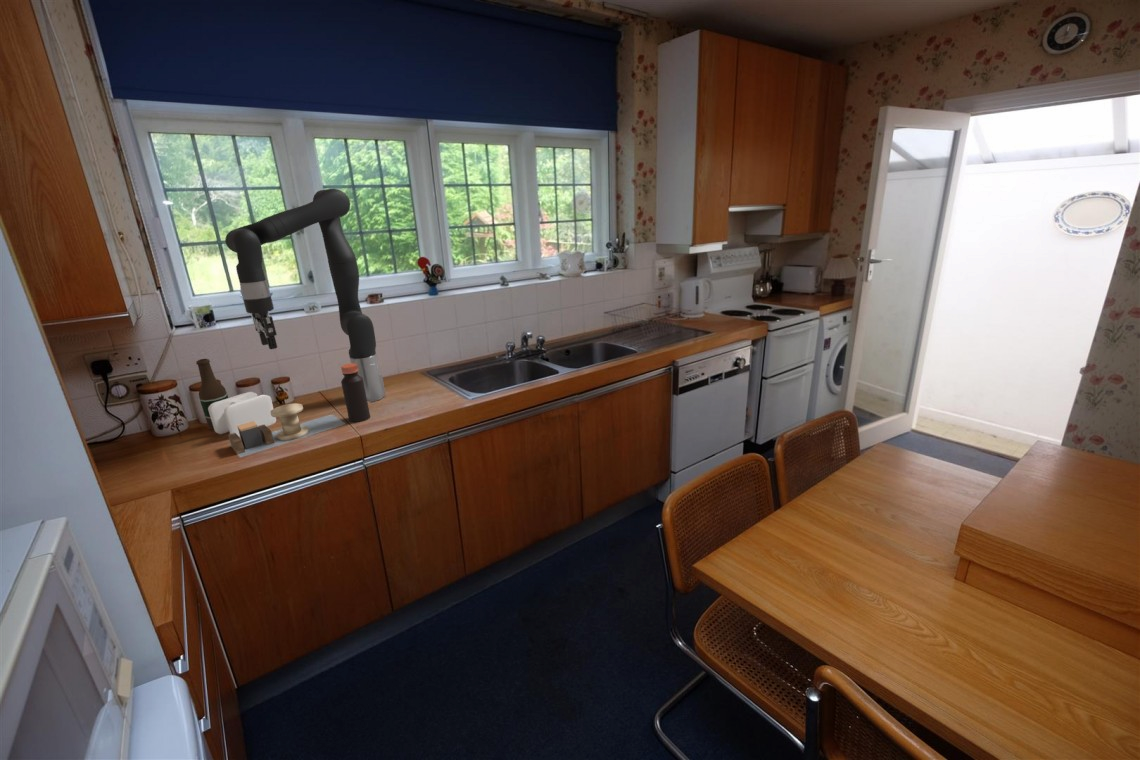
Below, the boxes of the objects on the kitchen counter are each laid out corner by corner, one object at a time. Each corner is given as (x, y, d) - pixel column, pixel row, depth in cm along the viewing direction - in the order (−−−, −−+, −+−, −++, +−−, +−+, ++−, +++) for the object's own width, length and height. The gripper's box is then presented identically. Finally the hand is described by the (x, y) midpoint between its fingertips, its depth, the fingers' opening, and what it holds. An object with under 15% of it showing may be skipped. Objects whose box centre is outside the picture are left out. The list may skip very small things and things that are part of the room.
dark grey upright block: (259, 440, 157) (253, 421, 154) (262, 444, 153) (257, 424, 151) (242, 445, 154) (237, 425, 152) (246, 449, 151) (240, 429, 148)
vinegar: (371, 415, 174) (361, 361, 167) (370, 423, 168) (358, 367, 161) (351, 419, 172) (339, 364, 166) (348, 426, 166) (336, 369, 159)
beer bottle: (220, 421, 176) (200, 356, 168) (240, 421, 175) (221, 356, 167) (203, 431, 169) (181, 363, 161) (225, 430, 168) (204, 362, 160)
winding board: (332, 416, 175) (332, 414, 175) (346, 426, 166) (346, 423, 166) (230, 447, 155) (229, 444, 154) (240, 460, 146) (239, 457, 146)
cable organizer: (232, 442, 158) (221, 409, 154) (215, 436, 164) (205, 404, 160) (278, 425, 170) (270, 393, 166) (261, 419, 176) (253, 389, 172)
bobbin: (303, 426, 165) (297, 401, 162) (312, 433, 159) (306, 407, 156) (273, 435, 159) (266, 409, 157) (282, 443, 153) (275, 416, 150)
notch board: (267, 435, 160) (264, 424, 158) (274, 442, 154) (271, 431, 153) (231, 446, 153) (227, 434, 152) (237, 454, 148) (233, 442, 146)
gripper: (276, 296, 152) (289, 347, 157) (264, 292, 161) (276, 340, 167) (248, 300, 147) (262, 352, 152) (237, 296, 156) (250, 345, 162)
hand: (269, 346), depth 159 cm, fingers open, 8 cm apart
